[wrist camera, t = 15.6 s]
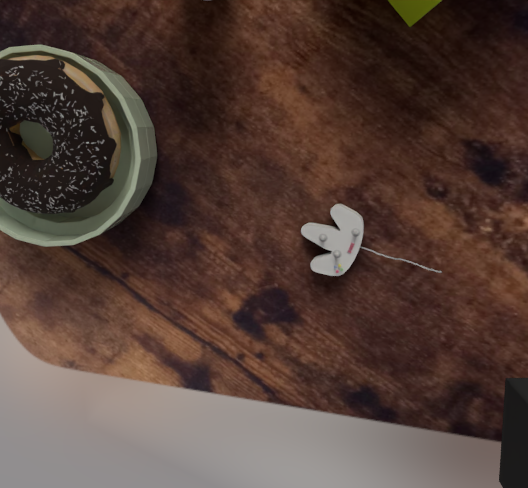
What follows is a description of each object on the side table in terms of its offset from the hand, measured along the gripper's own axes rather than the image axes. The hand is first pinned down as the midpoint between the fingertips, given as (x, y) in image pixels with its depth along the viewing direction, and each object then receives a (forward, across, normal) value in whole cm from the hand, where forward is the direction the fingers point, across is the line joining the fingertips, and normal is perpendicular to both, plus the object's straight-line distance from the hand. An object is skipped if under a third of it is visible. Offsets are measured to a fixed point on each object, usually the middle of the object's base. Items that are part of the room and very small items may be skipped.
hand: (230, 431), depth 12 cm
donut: (+26, -16, +8) cm, 31 cm away
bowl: (+29, -16, +7) cm, 34 cm away
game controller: (+29, +8, -3) cm, 30 cm away
